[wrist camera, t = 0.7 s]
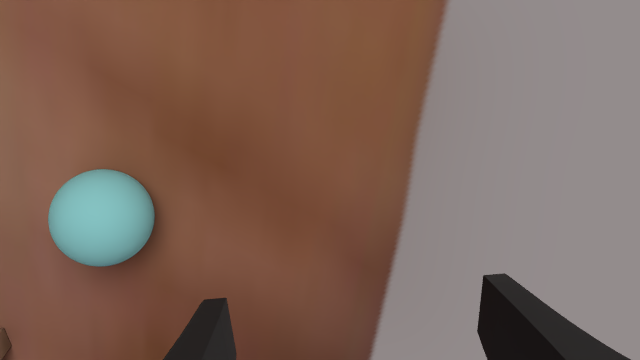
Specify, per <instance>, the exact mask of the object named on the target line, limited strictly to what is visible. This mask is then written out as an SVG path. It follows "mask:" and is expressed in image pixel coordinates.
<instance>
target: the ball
mask: <svg viewBox="0 0 640 360" xmlns="http://www.w3.org/2000/svg"><path fill="white" fill-rule="evenodd" d="M154 218H155V213H154V207H153V203H152V200H151V198H150V196H149V194H148V193H147V191H146V189H145V188H144V187H143V186H142V185H141V184H140V183H139V182H138V181H137V180H135V179H134V178H132V177H131V176H129V175H127V174H125V173H122V172H119V171H115V170H107V169H98V170H91V171H87V172H84V173H81V174H79V175H77V176H75V177H73V178H72V179H70V180H69V181H68V182H66V183H65V184H64V185H63V186H62V187H61V188H60V189H59V191H58V192H57V193H56V195H55V196H54V198H53V201H52V203H51V206H50V209H49V216H48V222H49V230H50V233H51V236H52V238H53V240H54V242H55V244H56V245H57V246H58V248H59V249H60V250H61V251H62V252H63V253H64V254H65V255H67V256H68V257H70V258H71V259H73V260H75V261H77V262H79V263H82V264H85V265H90V266H110V265H115V264H118V263H121V262H123V261H125V260H127V259H129V258H131V257H132V256H134V255H135V254H136V253H137V252H138V251H139V250H140V249H141V248H142V247H143V246H144V245H145V244H146V242H147V241H148V239H149V237H150V235H151V232H152V229H153V226H154Z"/></svg>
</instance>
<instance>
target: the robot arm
mask: <svg viewBox="0 0 640 360" xmlns="http://www.w3.org/2000/svg"><path fill="white" fill-rule="evenodd" d="M477 331H478V334H479V337H480V340H481V343H482V346H483V349H484V352H485V354H486V357H487V360H630V359H629V358H627V357H625V356H623V355H622V354H620V353H618V352H616V351H615V350H613V349H611V348H610V347H608V346H606V345H605V344H603V343H601V342H600V341H598V340H597V339H595V338H594V337H592V336H591V335H589V334H588V333H586V332H585V331H583V330H582V329H580V328H579V327H577V326H576V325H574V324H573V323H571V322H570V321H568V320H567V319H566V318H564V317H563V316H561V315H560V314H559V313H557V312H556V311H554V310H553V309H552V308H550V307H549V306H548V305H546V304H545V303H543V302H542V301H541V300H540V299H538V298H537V297H536V296H534V295H533V294H532V293H530V292H529V291H528V290H526V289H525V288H524V287H522V286H521V285H520V284H518V283H517V282H516V281H515V280H513V279H512V278H510V277H509V276H508V275H506V274H493V275H484V276H483V284H482V293H481V302H480V312H479V321H478V330H477ZM163 360H236V349H235V343H234V337H233V332H232V326H231V321H230V315H229V310H228V304H227V298H218V299H207V300H204V301H203V302H202V303H201V304H200V306H199V307H198V309H197V311H196V312H195V314H194V315H193V317H192V318H191V320H190V322H189V323H188V325H187V326H186V328H185V329H184V331H183V332H182V334H181V335H180V337H179V338H178V339H177V341H176V342H175V344H174V345H173V346H172V348H171V349H170V351H169V352H168V354H167V355H166V356H165V358H164V359H163Z"/></svg>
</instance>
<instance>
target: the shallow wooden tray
mask: <svg viewBox="0 0 640 360" xmlns="http://www.w3.org/2000/svg"><path fill="white" fill-rule="evenodd" d="M10 347H11V344H10V341H9V339H8V337H7V334H6V332H5V330H4V328H0V360H2V359H3V357H4V356H5V354H6V353H7V351H8V350H9V348H10Z"/></svg>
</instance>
